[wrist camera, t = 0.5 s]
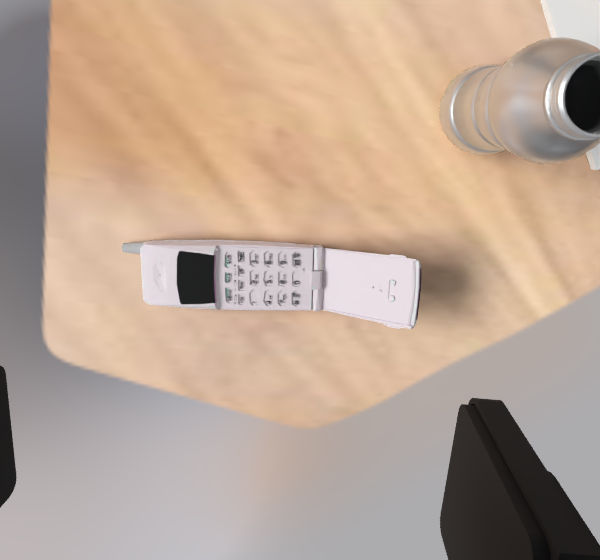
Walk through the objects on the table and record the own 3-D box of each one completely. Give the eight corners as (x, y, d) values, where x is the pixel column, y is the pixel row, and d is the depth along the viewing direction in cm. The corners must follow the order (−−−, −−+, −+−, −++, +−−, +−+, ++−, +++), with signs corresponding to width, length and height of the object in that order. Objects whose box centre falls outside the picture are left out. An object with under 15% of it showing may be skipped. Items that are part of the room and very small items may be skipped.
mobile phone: (417, 331, 41) (104, 320, 42) (406, 308, 47) (130, 298, 48) (424, 256, 39) (98, 246, 40) (411, 241, 45) (126, 233, 46)
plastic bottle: (460, 52, 41) (582, -20, 21) (534, 94, 41) (718, 61, 22) (417, 129, 42) (495, 127, 23) (489, 168, 43) (623, 197, 24)
